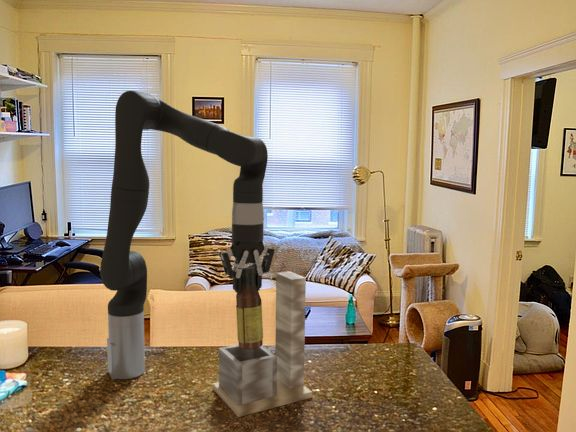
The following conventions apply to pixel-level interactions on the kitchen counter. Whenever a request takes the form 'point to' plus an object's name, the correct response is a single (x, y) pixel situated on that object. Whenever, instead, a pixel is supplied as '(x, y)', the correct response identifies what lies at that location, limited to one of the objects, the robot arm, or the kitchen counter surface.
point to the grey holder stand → (269, 358)
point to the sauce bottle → (249, 311)
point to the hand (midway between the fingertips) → (247, 290)
